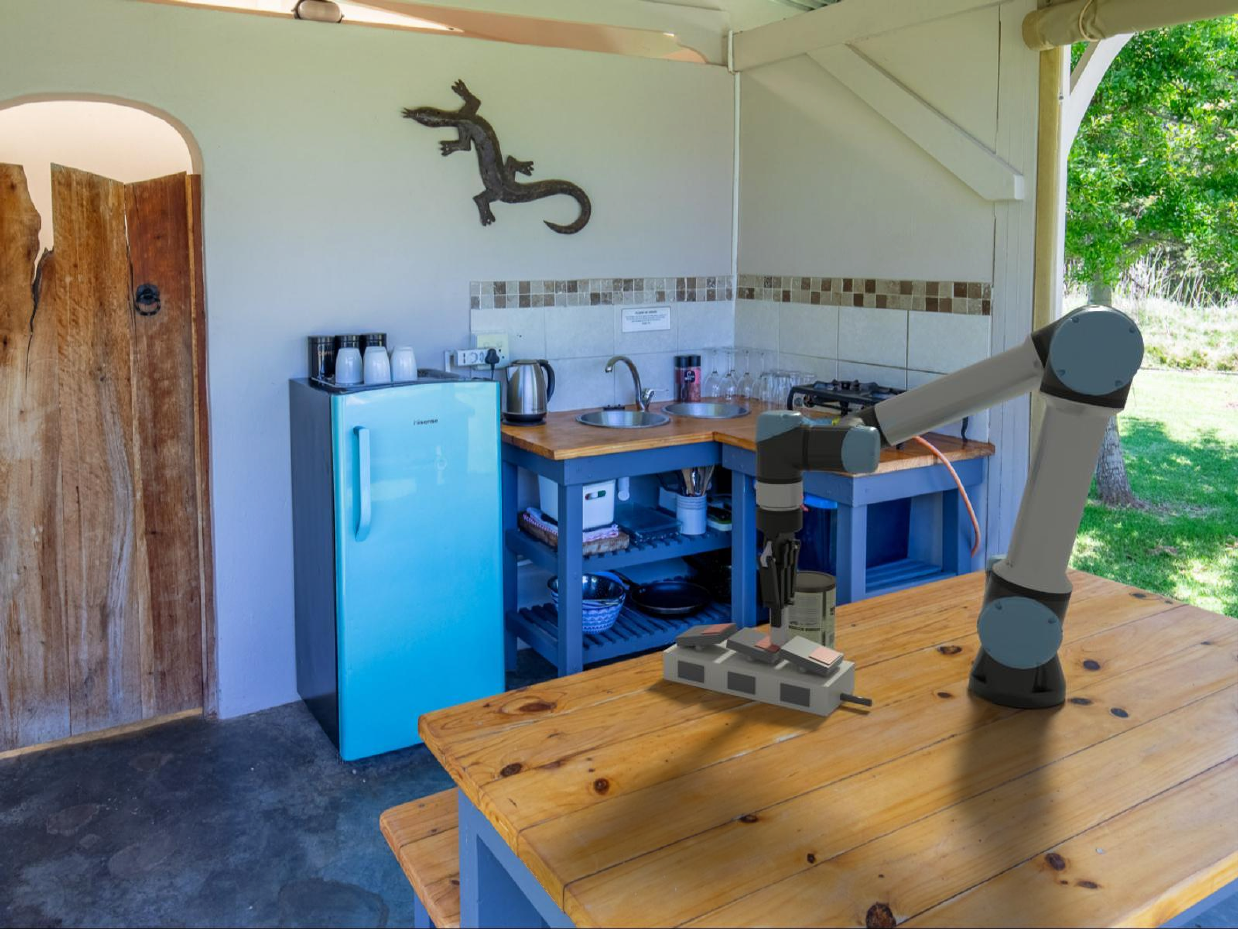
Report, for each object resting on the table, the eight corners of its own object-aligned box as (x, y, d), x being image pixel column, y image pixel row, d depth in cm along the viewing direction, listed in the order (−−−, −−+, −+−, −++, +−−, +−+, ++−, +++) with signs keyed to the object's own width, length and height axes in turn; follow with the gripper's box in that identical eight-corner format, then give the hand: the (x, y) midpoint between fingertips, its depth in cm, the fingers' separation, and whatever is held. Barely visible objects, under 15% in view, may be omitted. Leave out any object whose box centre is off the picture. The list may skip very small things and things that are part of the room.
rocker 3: (842, 662, 174) (844, 653, 174) (826, 676, 168) (828, 666, 168) (795, 643, 178) (797, 634, 178) (778, 656, 172) (780, 647, 172)
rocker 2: (788, 650, 179) (790, 641, 179) (771, 663, 173) (773, 653, 173) (744, 635, 183) (745, 625, 183) (725, 647, 178) (727, 637, 177)
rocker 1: (738, 631, 184) (736, 621, 184) (719, 644, 178) (717, 633, 178) (696, 634, 189) (694, 624, 189) (677, 646, 183) (675, 636, 183)
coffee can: (776, 641, 200) (778, 569, 198) (831, 642, 199) (833, 570, 197) (779, 661, 190) (780, 586, 188) (837, 662, 189) (839, 587, 187)
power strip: (883, 697, 174) (884, 660, 173) (857, 724, 164) (858, 685, 163) (696, 657, 193) (696, 624, 191) (662, 679, 182) (662, 644, 181)
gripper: (774, 496, 179) (774, 629, 183) (740, 511, 168) (741, 652, 172) (816, 500, 175) (815, 635, 179) (784, 516, 164) (784, 660, 168)
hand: (779, 643), depth 176 cm, fingers closed
